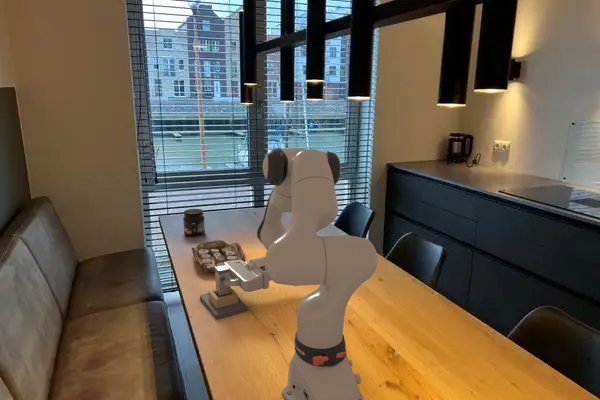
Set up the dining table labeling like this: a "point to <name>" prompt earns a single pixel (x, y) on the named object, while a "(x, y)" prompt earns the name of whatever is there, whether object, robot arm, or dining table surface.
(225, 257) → the baking tray
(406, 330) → the dining table surface
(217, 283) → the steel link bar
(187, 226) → the supplement container
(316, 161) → the robot arm
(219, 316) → the keeper plate
